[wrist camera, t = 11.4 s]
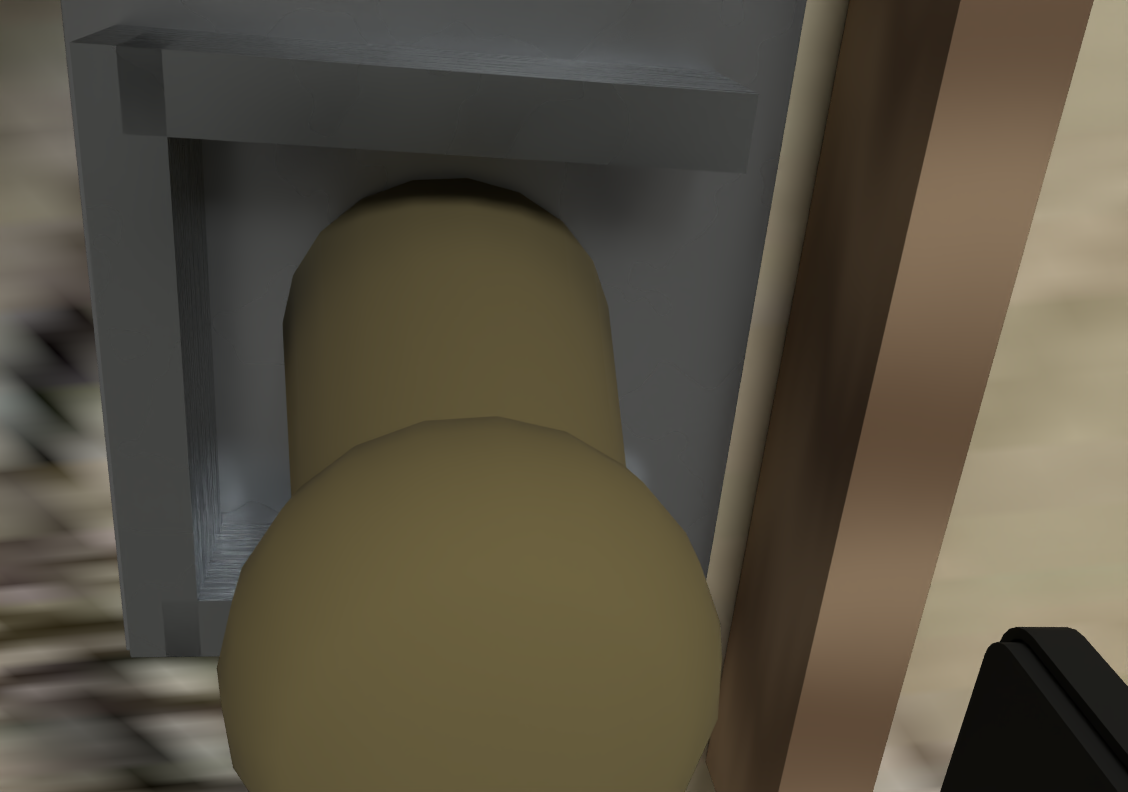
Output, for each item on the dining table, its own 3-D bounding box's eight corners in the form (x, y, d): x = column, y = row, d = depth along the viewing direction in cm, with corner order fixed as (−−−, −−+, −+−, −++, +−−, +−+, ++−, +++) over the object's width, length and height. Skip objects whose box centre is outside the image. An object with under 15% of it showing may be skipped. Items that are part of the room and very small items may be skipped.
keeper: (61, -107, 16) (-12, -110, 13) (800, -36, 18) (871, -25, 15) (133, 631, 22) (92, 736, 19) (688, 627, 24) (724, 723, 21)
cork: (514, 113, 18) (637, 367, 8) (662, 389, 20) (894, 839, 11) (213, 281, 18) (-20, 715, 8) (394, 530, 21) (377, 1083, 11)
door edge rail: (907, -302, 17) (1043, -362, 13) (1022, -285, 17) (1188, -340, 13) (705, 761, 26) (752, 901, 22) (783, 759, 26) (843, 896, 22)
